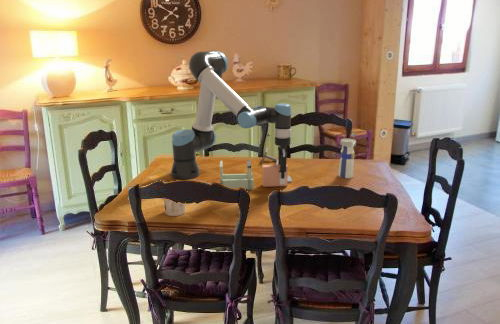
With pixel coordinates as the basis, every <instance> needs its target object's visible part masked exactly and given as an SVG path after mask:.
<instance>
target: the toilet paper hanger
mask: <svg viewBox="0 0 500 324" xmlns="http://www.w3.org/2000/svg"><path fill="white" fill-rule="evenodd" d="M268 150H269V148H268V147H266V149H265V151H264V154H263V156H262V160H261V162H260V163H261V164H264V161H265V159H267V160H268V159H269V160H271V161H273V162H275V165H278V158H277V157H276V158H275V157H273V156H270V155H268Z"/></svg>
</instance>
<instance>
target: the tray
mask: <svg viewBox="0 0 500 324" xmlns="http://www.w3.org/2000/svg"><path fill="white" fill-rule="evenodd" d="M287 183H293V180H292V177H291V176H290V175H288V178H287Z"/></svg>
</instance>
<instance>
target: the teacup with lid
mask: <svg viewBox="0 0 500 324" xmlns="http://www.w3.org/2000/svg"><path fill="white" fill-rule="evenodd" d="M163 202H164V213H165V214H166V216H170V217H177V216H181V215H184V214H185V213H186V211H187V209H186V203H185V204H182V203H176V202H173V201H171V200H169V199H164V198H163Z"/></svg>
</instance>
